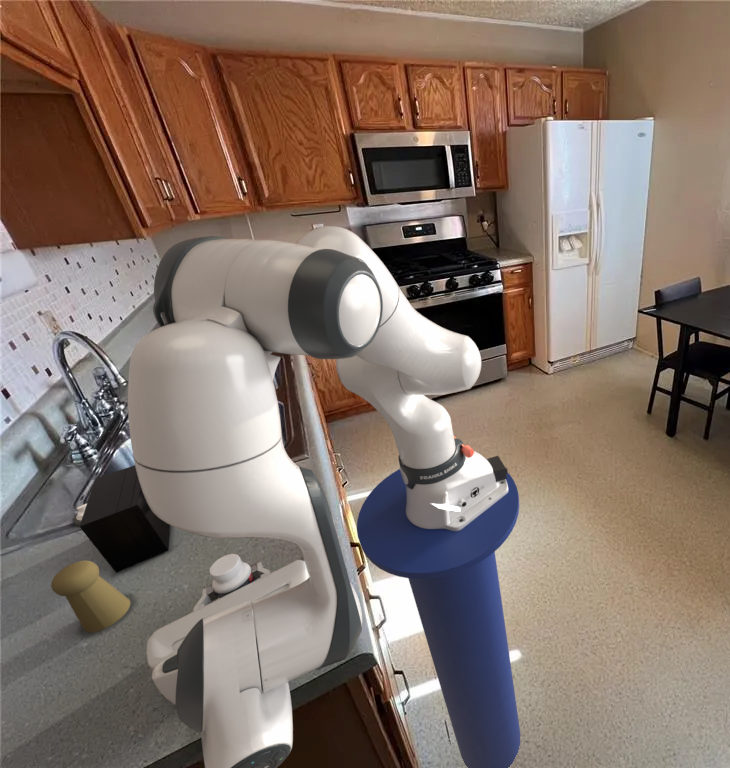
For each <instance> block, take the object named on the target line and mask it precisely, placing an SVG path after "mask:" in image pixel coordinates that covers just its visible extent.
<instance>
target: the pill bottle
mask: <svg viewBox="0 0 730 768" xmlns="http://www.w3.org/2000/svg"><path fill="white" fill-rule="evenodd" d="M209 575H210V577H211V579H212V584H211V585H212V587H213V589H214V591H215V592H216V594H217V595H218V599H220V598H222V597H224V596H226V595H228V594H230V593H232V592H234V591H236V590H238V589H240V588H242V587H244V586H246V585H248V584H250V583H252V582H254V581H256V580H258V579H256V580H255V578H254V576H253V575H252V573H251V567H250V565H249V564H248V563H247V562H244V561H243V560H242V559H241V557H240V556H239V555H238V554H237V553H230V554H226V555H223V556H222V557H220V558H218V559H217V560H215V562H213V563H212V565H211V566H210V568H209Z"/></svg>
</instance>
